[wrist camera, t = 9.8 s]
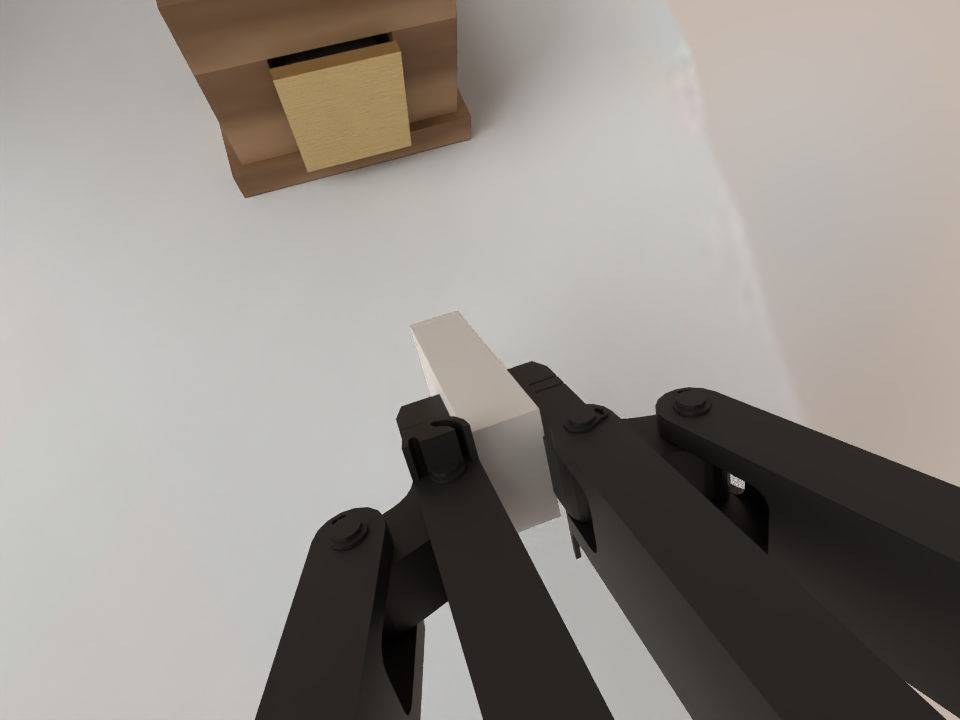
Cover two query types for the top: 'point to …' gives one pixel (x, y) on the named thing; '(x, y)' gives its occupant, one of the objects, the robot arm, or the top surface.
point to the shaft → (344, 101)
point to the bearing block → (300, 27)
